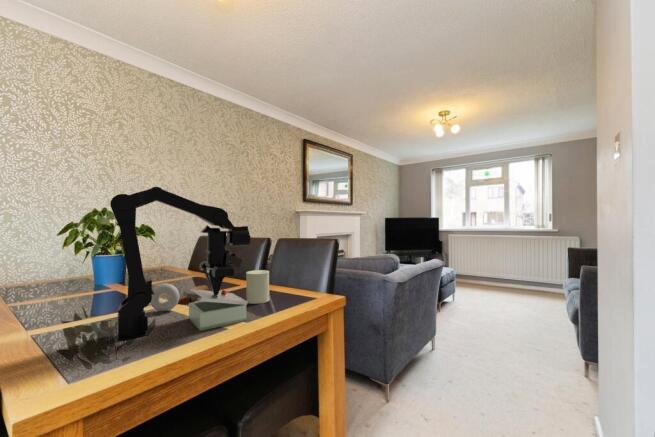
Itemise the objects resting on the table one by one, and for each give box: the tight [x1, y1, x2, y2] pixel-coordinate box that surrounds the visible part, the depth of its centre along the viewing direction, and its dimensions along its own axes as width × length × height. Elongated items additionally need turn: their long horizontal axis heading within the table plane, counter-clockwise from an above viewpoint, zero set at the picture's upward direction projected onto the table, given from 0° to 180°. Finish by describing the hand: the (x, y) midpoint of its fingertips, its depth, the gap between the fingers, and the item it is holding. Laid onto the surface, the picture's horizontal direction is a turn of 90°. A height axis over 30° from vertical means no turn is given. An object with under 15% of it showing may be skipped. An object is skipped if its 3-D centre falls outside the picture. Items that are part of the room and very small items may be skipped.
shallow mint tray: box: [188, 300, 247, 332], centre depth 94 cm, size 14×14×5 cm
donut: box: [149, 282, 181, 312], centre depth 103 cm, size 10×4×10 cm, turn 97°
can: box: [245, 269, 270, 305], centre depth 117 cm, size 9×9×12 cm
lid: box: [182, 288, 249, 306], centre depth 94 cm, size 17×14×2 cm
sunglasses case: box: [177, 284, 210, 305], centre depth 122 cm, size 18×7×7 cm
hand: (216, 294), depth 94 cm, fingers closed, pressing on lid
